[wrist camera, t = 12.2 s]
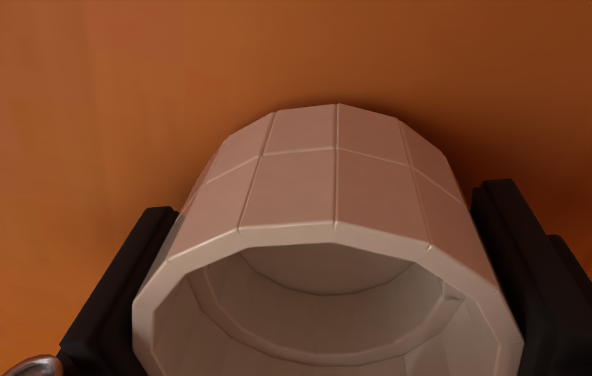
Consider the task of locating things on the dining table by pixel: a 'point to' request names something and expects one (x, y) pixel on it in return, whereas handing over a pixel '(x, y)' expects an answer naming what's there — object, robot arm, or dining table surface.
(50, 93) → the dining table surface
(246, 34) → the dining table surface
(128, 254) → the robot arm
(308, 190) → the small bowl
